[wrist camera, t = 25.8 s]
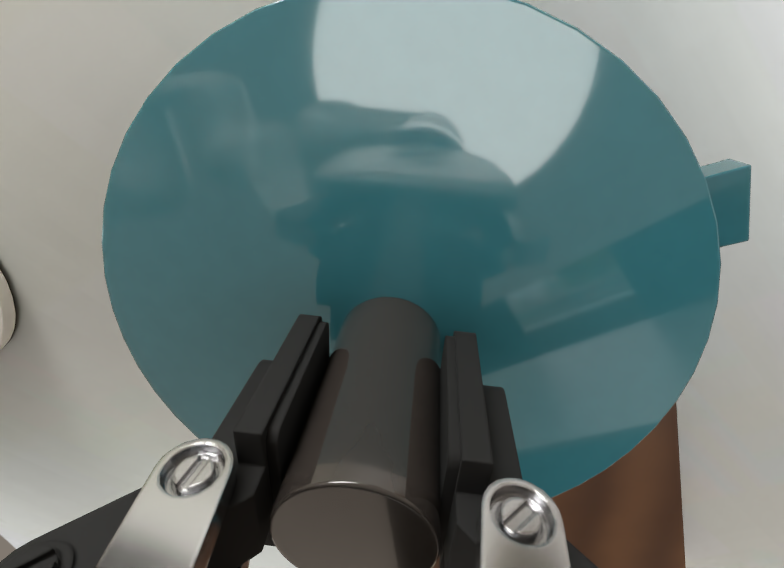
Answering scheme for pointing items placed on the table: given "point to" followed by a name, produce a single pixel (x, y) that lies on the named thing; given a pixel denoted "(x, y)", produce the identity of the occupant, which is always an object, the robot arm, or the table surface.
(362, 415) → the lid
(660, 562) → the board
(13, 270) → the table surface
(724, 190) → the pot
